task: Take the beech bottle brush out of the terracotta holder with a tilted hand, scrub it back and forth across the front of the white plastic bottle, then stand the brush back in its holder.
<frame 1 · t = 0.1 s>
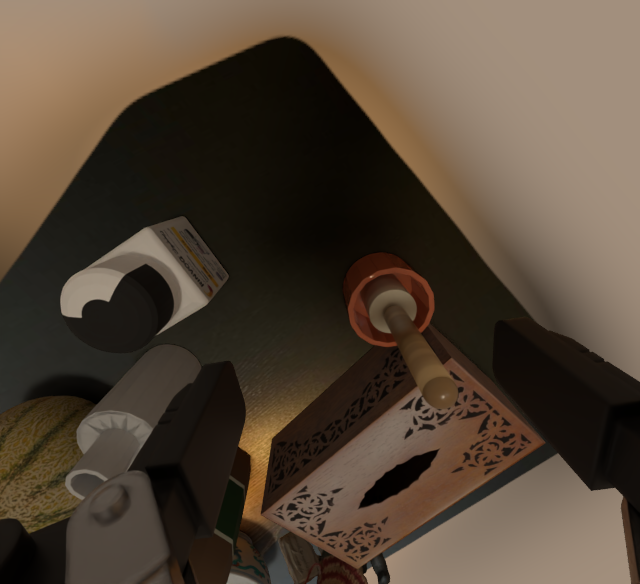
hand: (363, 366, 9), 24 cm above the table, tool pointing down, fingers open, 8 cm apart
cantaloupe: (89, 417, 40), on the table
white plastic bottle: (172, 369, 38), on the table
bottle brush: (379, 289, 34), point 1 cm above the table, touching brush holder
beer bottle: (225, 461, 43), on the table
tissue box cover: (377, 408, 41), on the table
container: (180, 264, 33), on the table
chinaware: (231, 541, 49), on the table
figurine: (331, 509, 47), on the table
brush holder: (378, 287, 34), on the table
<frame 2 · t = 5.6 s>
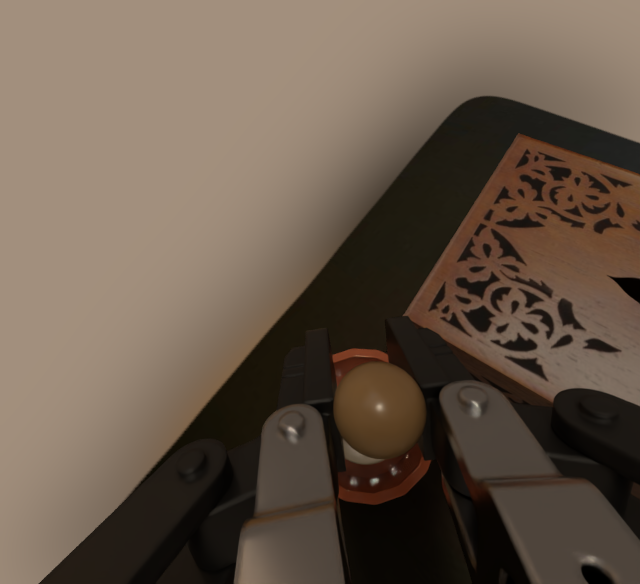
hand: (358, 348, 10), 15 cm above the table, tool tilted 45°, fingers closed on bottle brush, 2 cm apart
bottle brush: (361, 420, 22), point 1 cm above the table, touching brush holder, gripper
tissue box cover: (588, 374, 23), on the table
brush holder: (360, 420, 23), on the table
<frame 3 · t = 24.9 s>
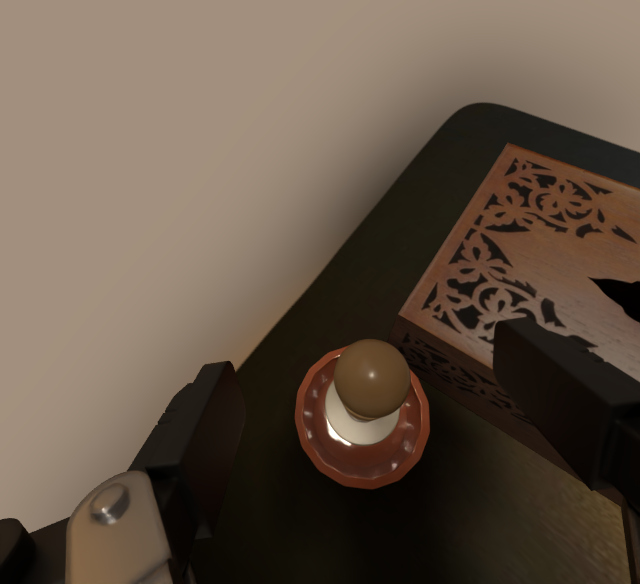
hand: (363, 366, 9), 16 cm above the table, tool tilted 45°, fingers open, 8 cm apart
bottle brush: (360, 409, 24), point 1 cm above the table, touching brush holder
tissue box cover: (575, 370, 24), on the table
brush holder: (359, 414, 24), on the table
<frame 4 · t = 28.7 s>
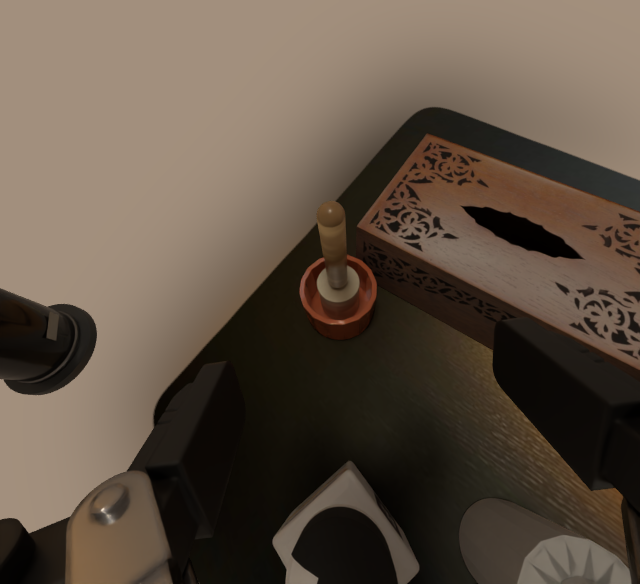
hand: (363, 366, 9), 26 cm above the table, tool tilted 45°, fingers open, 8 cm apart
white plastic bottle: (501, 546, 27), on the table
bottle brush: (340, 303, 37), point 1 cm above the table, touching brush holder
tissue box cover: (477, 279, 37), on the table
container: (345, 523, 29), on the table
brush holder: (340, 307, 38), on the table
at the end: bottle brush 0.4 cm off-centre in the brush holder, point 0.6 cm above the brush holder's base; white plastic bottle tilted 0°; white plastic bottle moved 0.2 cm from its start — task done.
